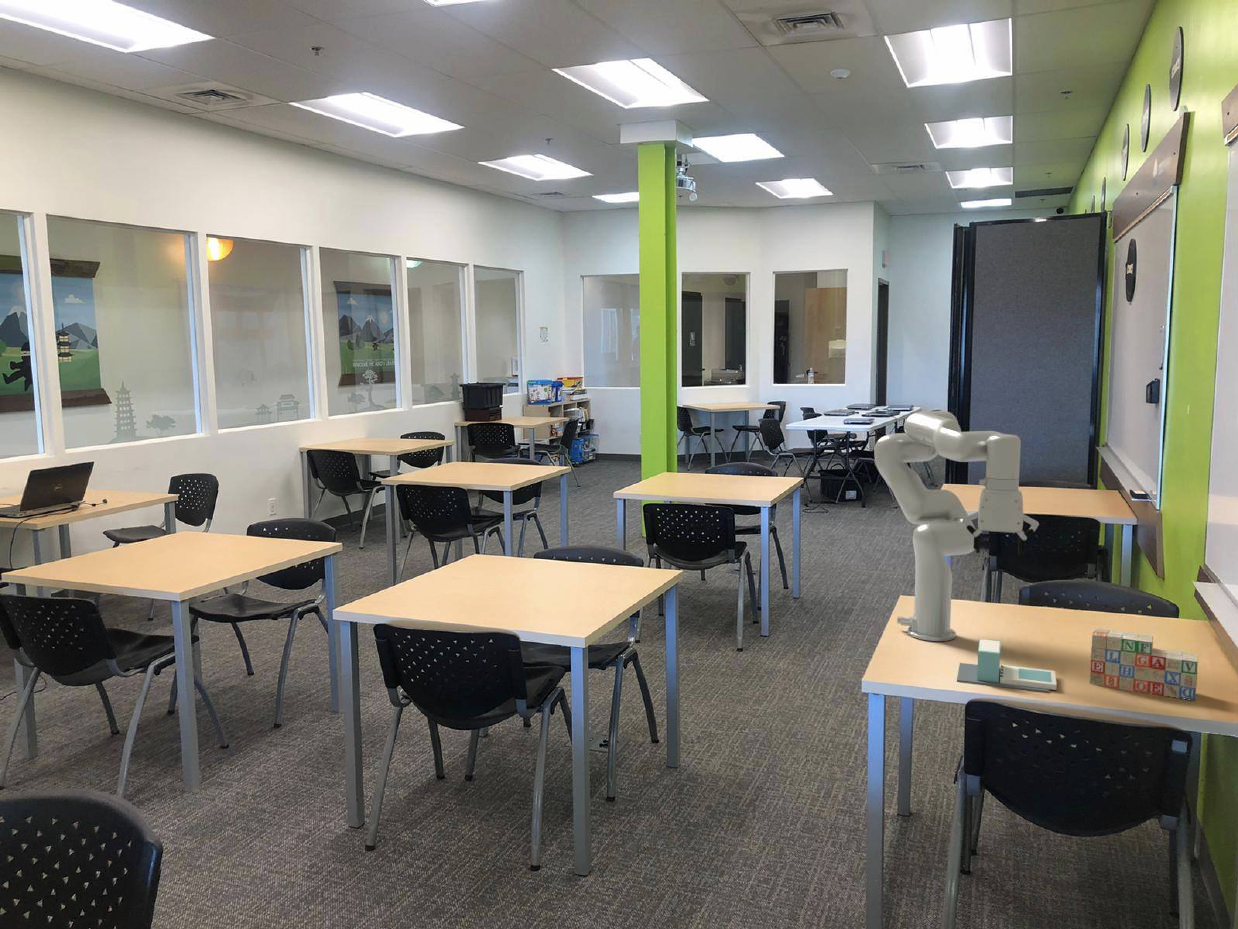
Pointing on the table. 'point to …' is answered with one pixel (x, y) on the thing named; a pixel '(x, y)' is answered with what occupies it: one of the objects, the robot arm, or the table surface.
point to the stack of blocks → (1141, 665)
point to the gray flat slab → (1012, 677)
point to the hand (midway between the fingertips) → (998, 553)
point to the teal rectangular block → (988, 660)
